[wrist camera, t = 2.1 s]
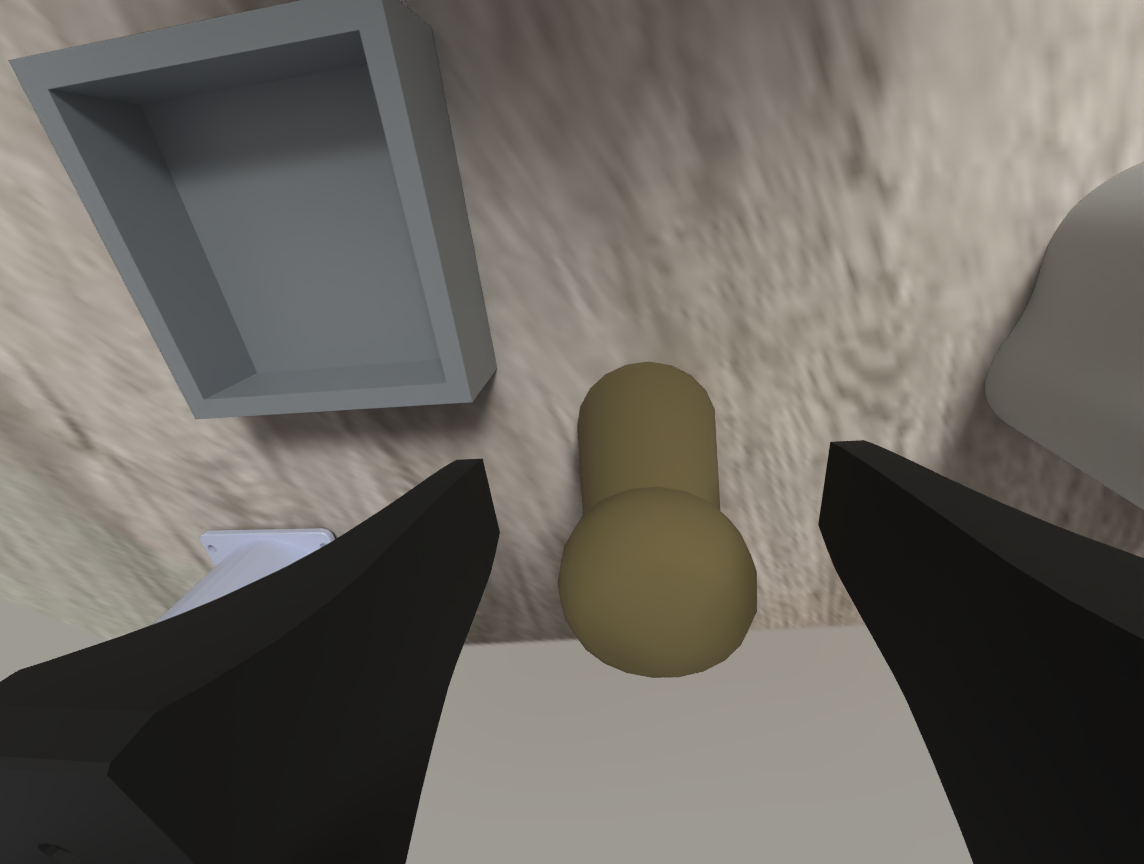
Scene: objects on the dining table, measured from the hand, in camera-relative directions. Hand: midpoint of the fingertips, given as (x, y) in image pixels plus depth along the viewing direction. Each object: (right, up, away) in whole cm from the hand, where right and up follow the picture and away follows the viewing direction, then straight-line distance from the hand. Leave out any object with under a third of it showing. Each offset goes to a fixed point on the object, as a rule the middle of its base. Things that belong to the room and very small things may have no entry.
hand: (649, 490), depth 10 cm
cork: (+2, +2, +11) cm, 11 cm away
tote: (-11, +9, +8) cm, 17 cm away
